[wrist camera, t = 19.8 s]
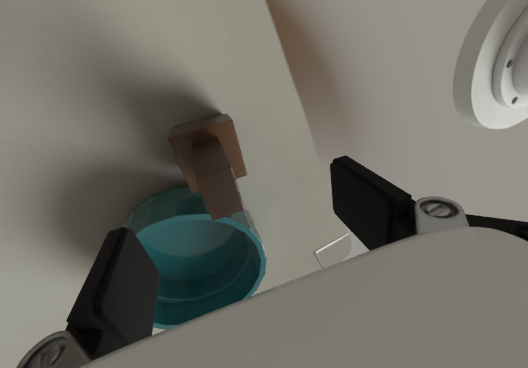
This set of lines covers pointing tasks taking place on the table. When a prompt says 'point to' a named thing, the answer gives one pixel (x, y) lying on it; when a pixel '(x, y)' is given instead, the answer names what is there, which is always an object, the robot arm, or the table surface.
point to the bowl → (197, 255)
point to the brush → (211, 162)
